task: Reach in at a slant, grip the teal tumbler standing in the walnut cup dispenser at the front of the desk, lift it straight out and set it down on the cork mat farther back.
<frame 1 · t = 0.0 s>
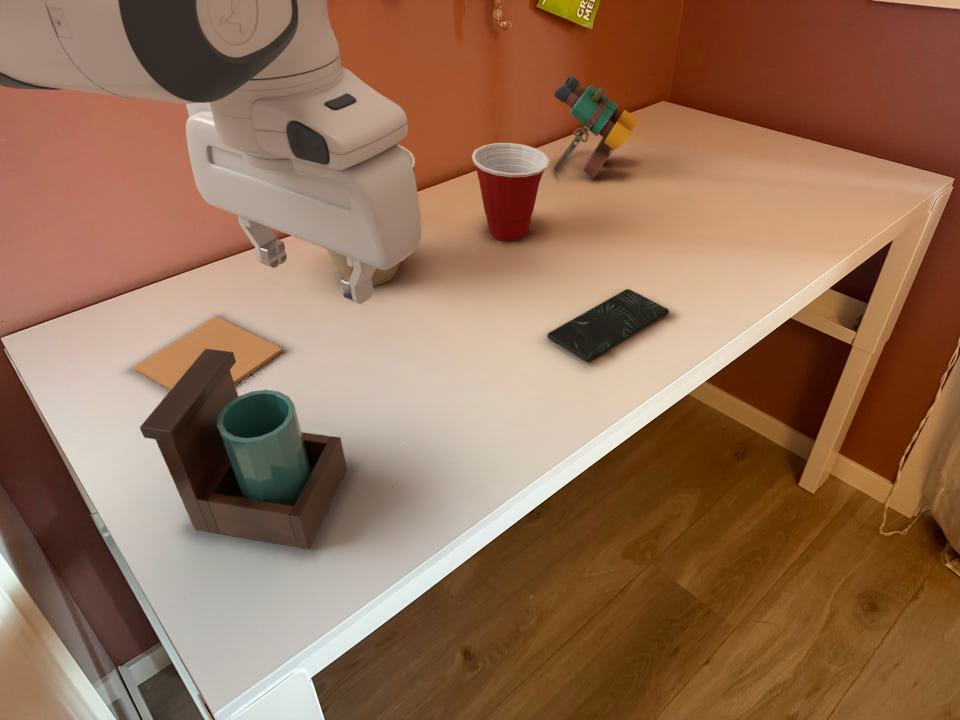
hand: (314, 279, 56), 22 cm above the table, tool pointing down, fingers open, 8 cm apart
mat: (210, 360, 84), on the table
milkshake: (328, 234, 108), on the table
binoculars: (592, 170, 123), on the table
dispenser: (281, 499, 68), on the table
plastic cup: (510, 233, 107), on the table
plant pot: (370, 274, 99), on the table
smartphone: (608, 328, 88), on the table
cup: (281, 499, 68), resting in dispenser
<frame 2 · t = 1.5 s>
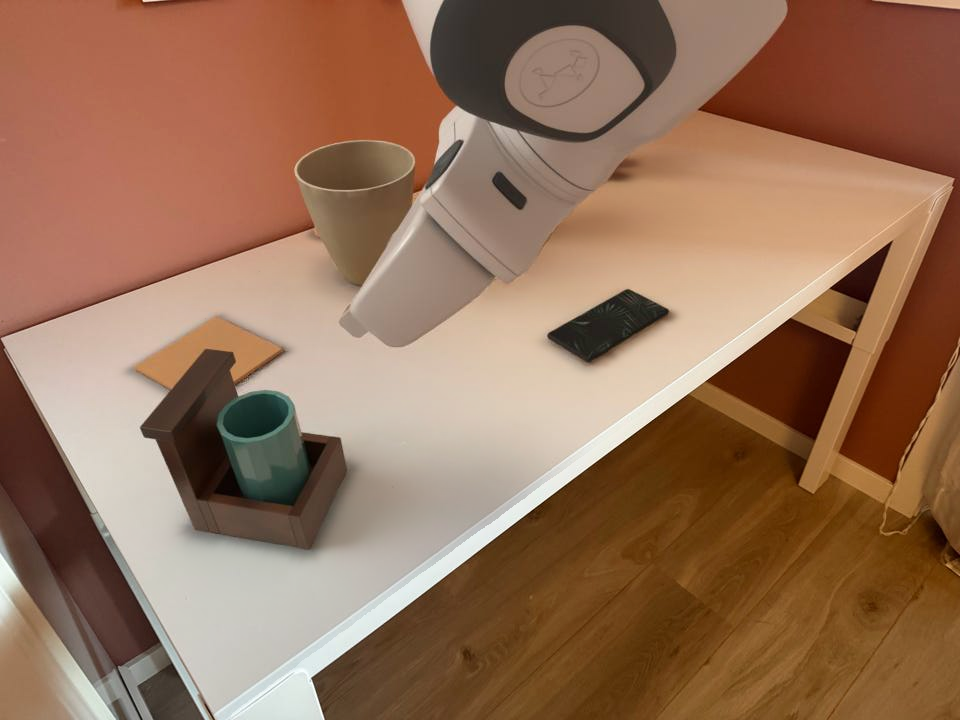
hand: (374, 285, 49), 25 cm above the table, tool tilted 45°, fingers open, 8 cm apart
nothing on the table moved.
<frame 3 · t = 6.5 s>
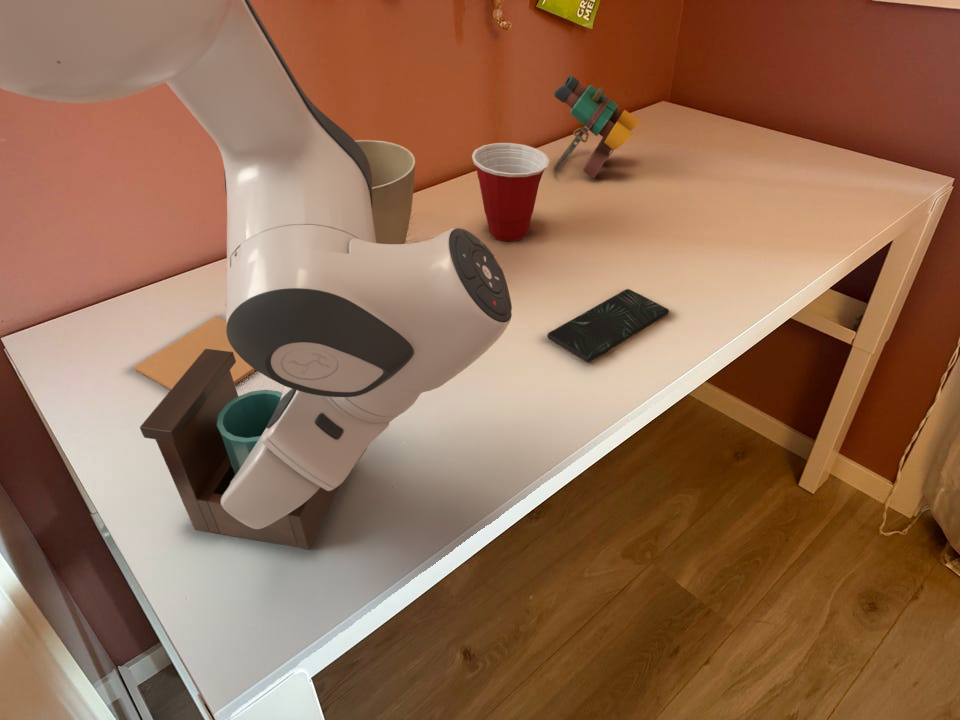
hand: (260, 451, 64), 6 cm above the table, tool tilted 45°, fingers closed on cup, 6 cm apart
cup: (281, 499, 68), resting in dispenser, touching gripper
everything else where it was.
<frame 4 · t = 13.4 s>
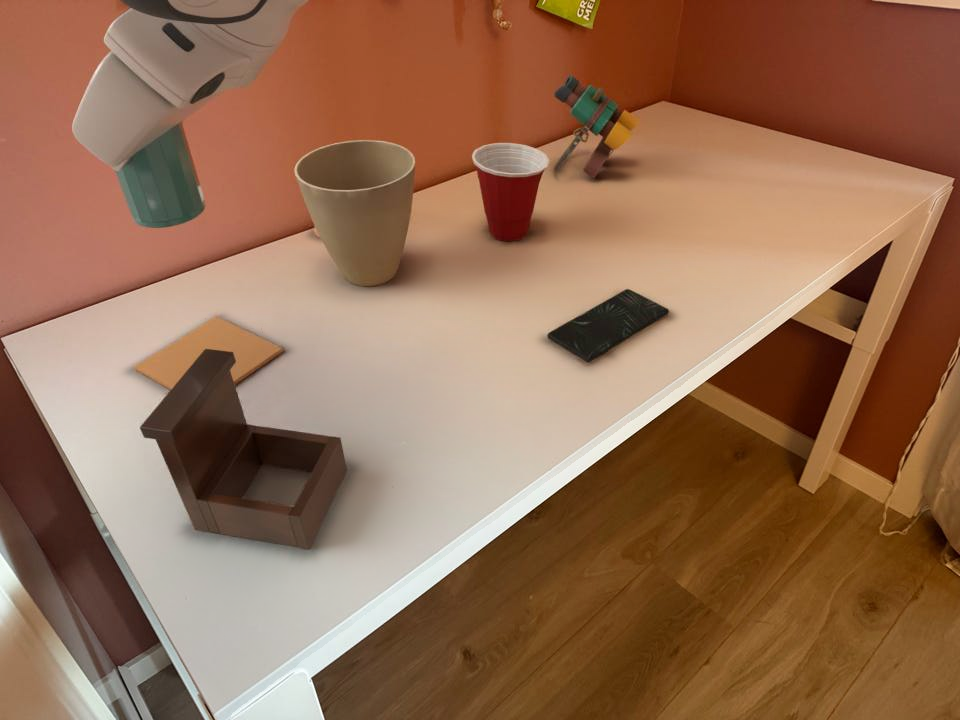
hand: (140, 144, 62), 29 cm above the table, tool tilted 45°, fingers closed on cup, 6 cm apart
cup: (169, 211, 66), point 22 cm above the table, touching gripper
everything else where it was.
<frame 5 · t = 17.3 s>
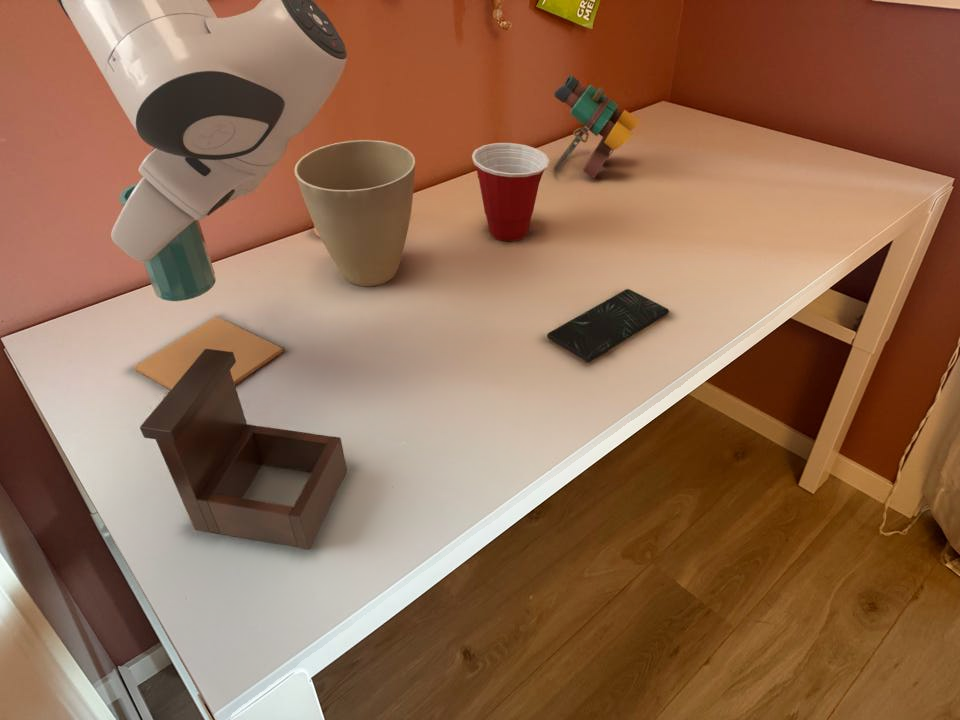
hand: (162, 232, 74), 17 cm above the table, tool tilted 45°, fingers closed on cup, 6 cm apart
cup: (185, 284, 78), point 11 cm above the table, touching gripper
everything else where it was.
when the fingers open (7 cm above the table, at t = 20.5 s): cup stays where it is, resting on mat.
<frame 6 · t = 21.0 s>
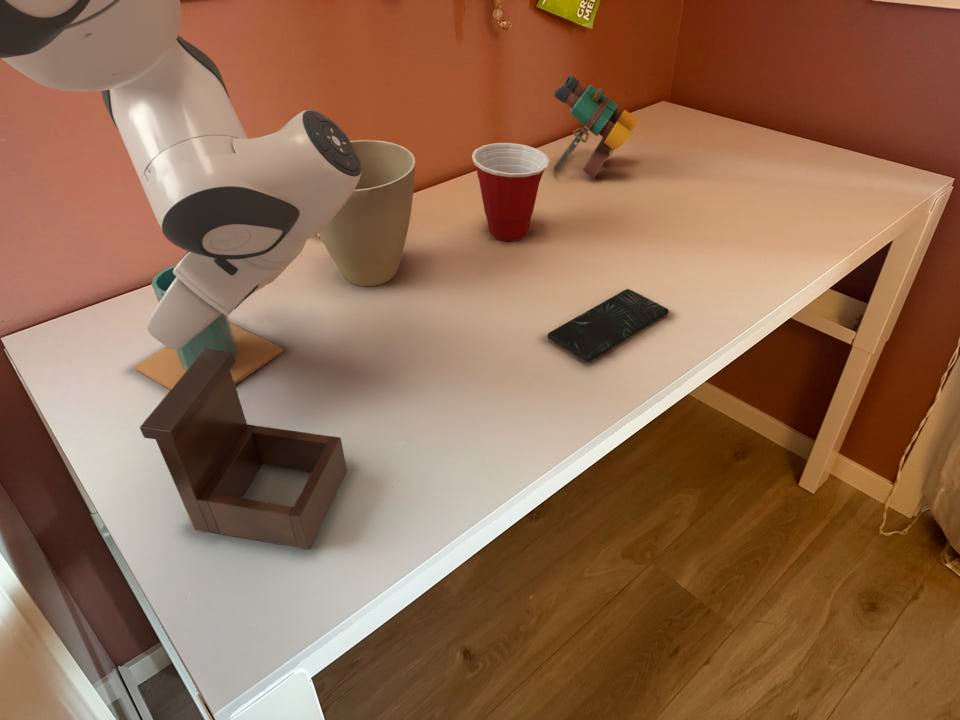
hand: (188, 311, 80), 7 cm above the table, tool tilted 45°, fingers open, 8 cm apart
cup: (209, 357, 84), resting on mat
everything else where it was.
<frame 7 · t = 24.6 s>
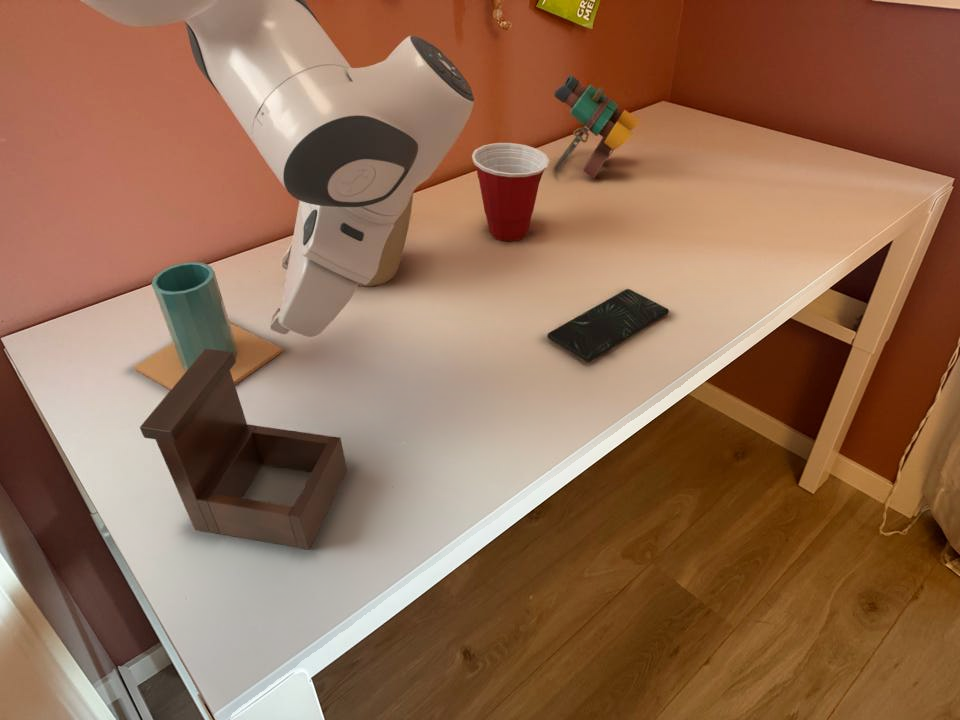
hand: (283, 295, 74), 11 cm above the table, tool tilted 40°, fingers open, 8 cm apart
nothing on the table moved.
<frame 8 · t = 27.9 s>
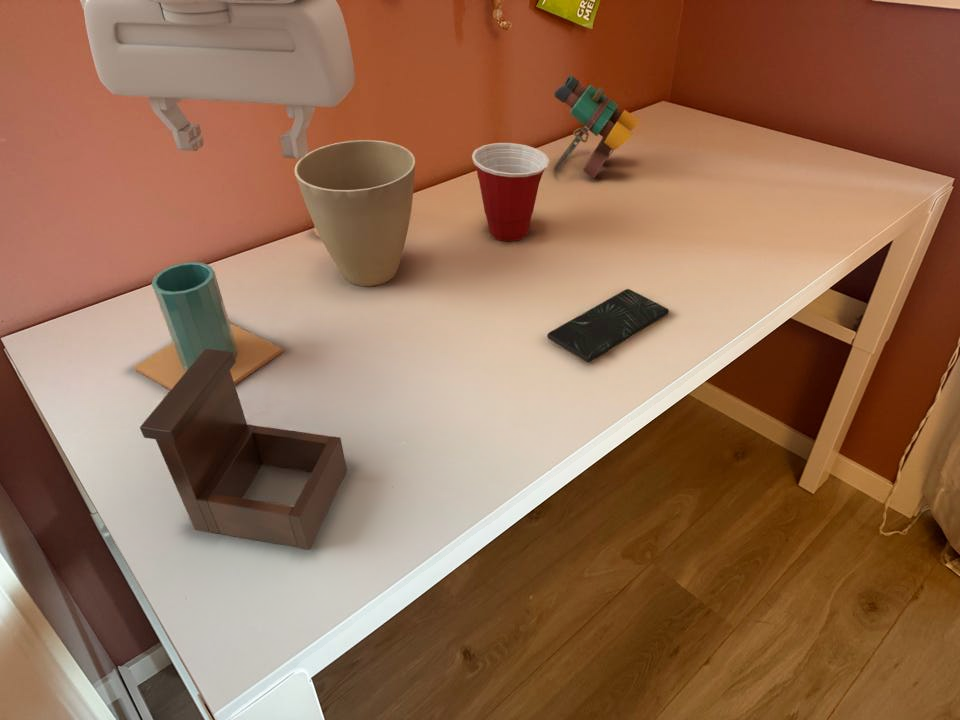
hand: (243, 152, 59), 29 cm above the table, tool pointing down, fingers open, 8 cm apart
nothing on the table moved.
at the end: cup inside the target area on the mat (0.1 cm from its centre), point 0.5 cm above the mat's base; cup tilted 0°; cup touching mat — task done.
